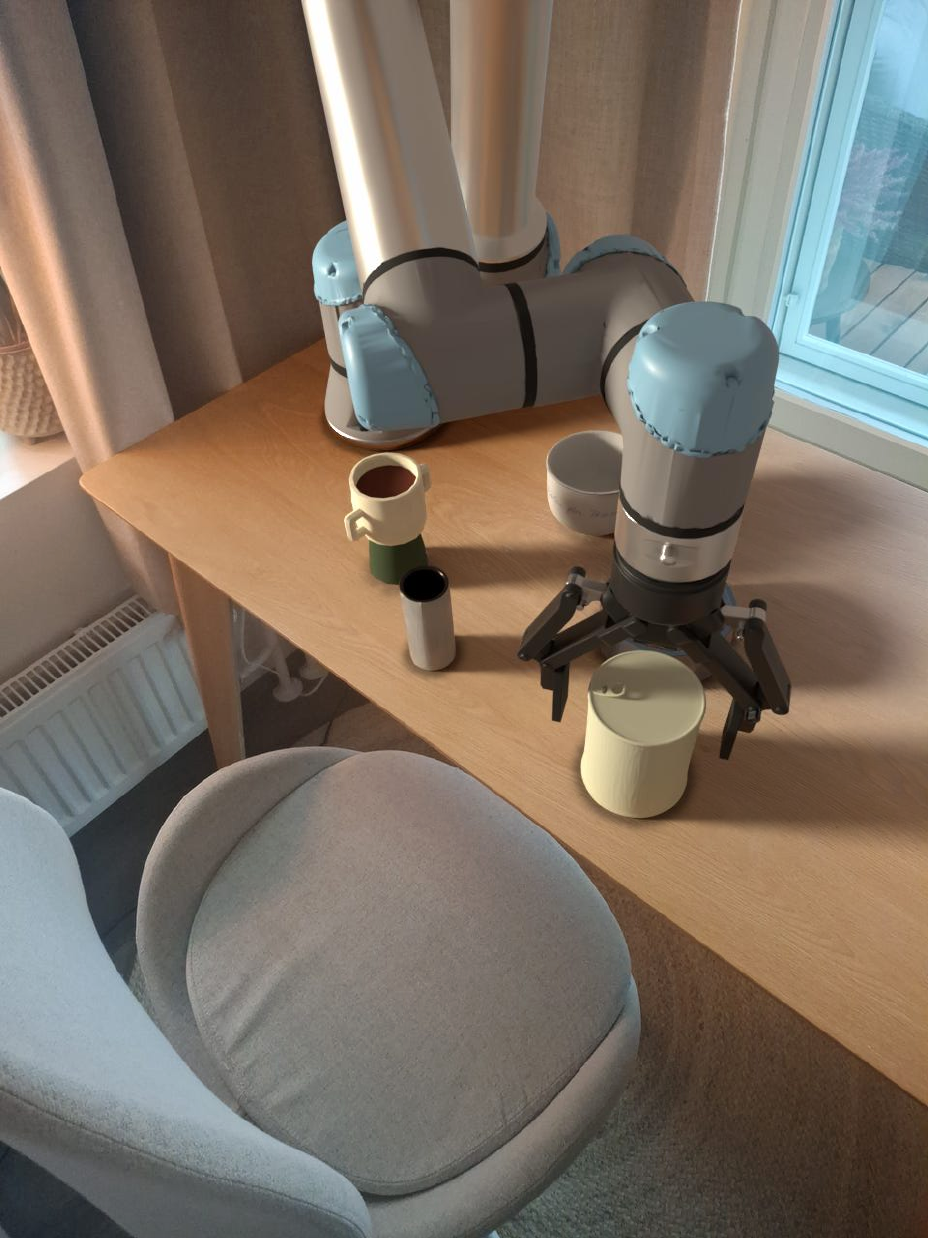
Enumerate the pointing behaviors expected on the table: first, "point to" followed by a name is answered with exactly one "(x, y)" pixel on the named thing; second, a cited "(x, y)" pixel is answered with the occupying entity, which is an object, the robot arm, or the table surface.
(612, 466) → the teacup
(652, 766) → the can
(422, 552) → the character mug
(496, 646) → the table surface
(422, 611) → the planter
